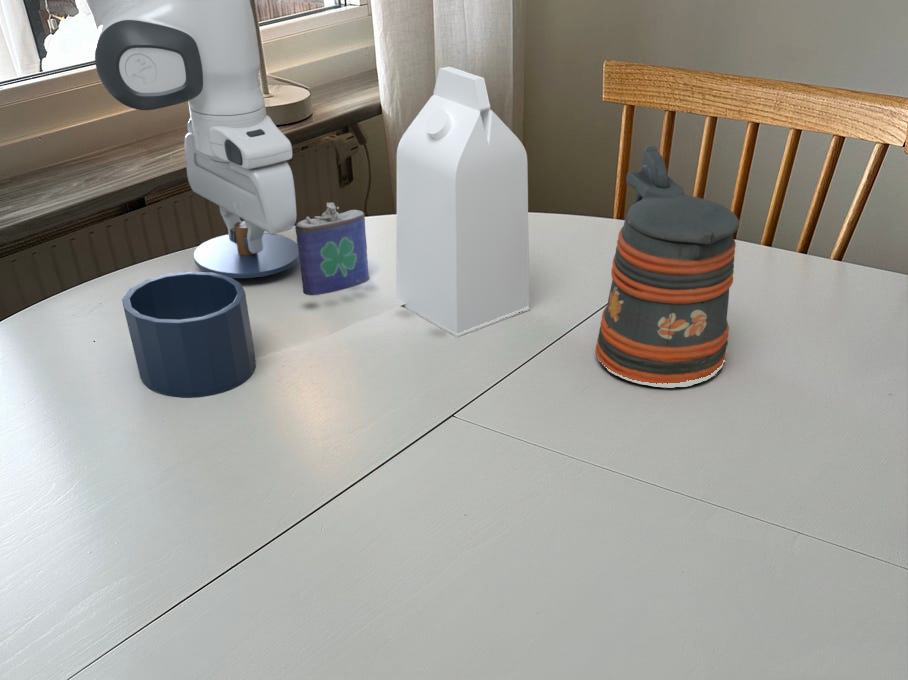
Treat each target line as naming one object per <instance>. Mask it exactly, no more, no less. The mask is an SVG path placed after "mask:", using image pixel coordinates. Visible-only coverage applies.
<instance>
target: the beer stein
mask: <svg viewBox="0 0 908 680" xmlns="http://www.w3.org/2000/svg"><path fill="white" fill-rule="evenodd" d="M640 167H641V168H640V171H628V172H627V173H626V179H625V183H626V184H627V185H628V186H630V187H631V188H632V189H633V190H634V191H636V194H635V197H634V201H633V204H632V205H631V206H630V207H629V209H628V211H627V213H626V215H625V219H624V222H623V225H622V227H621V228H620V230H619V232H618V235H617V241H616V247H615V253H614V255H613V257H612V266H611V269H610V271H611V285H610V290H609V295H608V299H607V303H606V304H607V305H606V306H605V307H604V309H603V311H602V313H601V314H602V315H601V321H600V326H599V330H598V331H599V332H598V337H597V340H596V345H595V355H596V354H597V355H596V357H597V356H598V358H599V360H600V361H601V363H603V365H605V367H607V368H608V369H610V370H611V371H613V372H615V373H617V374H619V375H622V376H623V377H627V378H629V379H632V380H637V381H641V382H649V383H656V384H657V383H662V384H663V383H667V384H668V383H680V382H686V381H687V380H688V381H689V380H695V379H699V378H701V377H702V378H703V377H706V376H708V375H711V373H713V372H714V371H715V370H717V368H719V367H720V366H721V365H722V363H723V360H724V359H725V356H726V352H727V348H728V343H729V342H728V341H729V340H728V338H729V332H730V331H729V330H730V327H729V322H728V320H727V319H728V310H729V309H728V308H729V298H730V288H731V287H732V285H733V283H734V269H735V254H736V241H735V238H734V234H735V233H736V232H737V231H738V229H739V228H740V220H739V218H738V216H737V215H736V214H735V213H734V212H733V211H732V210H730V209H729V208H728V207H726V206H724V205H722V204H720V203H718V202H716V201H712V200H709V199H704V198H701V197H697V196H693V195H688V194H685V191H684V188H683V186H681V185H680V184H678V183H676V182H675V181H674V180H673V178H671V177H670V176H669V175H668V170H667V167H666V163H665V161H664V158H663V156H662V154H661V153H660V152H659V151H658V149H657V147H656V146H655V145H650V146H646V147H645V148H644V150H643V155H642V161H641V166H640ZM598 358H597V359H598ZM599 360H598V361H599ZM601 363H600V364H601ZM665 389H667V388H665ZM667 390H668V389H667Z"/></svg>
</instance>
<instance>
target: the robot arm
mask: <svg viewBox="0 0 908 680" xmlns="http://www.w3.org/2000/svg"><path fill="white" fill-rule="evenodd" d="M84 2H85V3H86V5H87V7H88V9H89V11H90V13H91V17H92V19H93V23H94V27H95V32H96V40H95V51H94V63H95V68H96V72H97V75H98V77H99V79H100V81H101V83H102V85H103V86H104V88H105V89H106V91H107V92H108V93H109V95H111V97H113V98H114V99H115V100H116V101H117V102H119V103H121V104H123V105H124V106H126V107H128V108H130V109H134V110H139V111H152V110H158V109H164V108H168V107H171V106H176V105H180V104H182V103H186V102H187V103H188V109H189V115H190V118H189V121H188V122H187V124H186V127H187V134H186V135H185V137H184V157H185V167H186V175H187V181H188V184H189V186H190V189H191V190H192V192H193V193H194V194H196V195H199V196H201V197H203V198H204V199H206V200H207V201H209V202H211V203H213V204H215V205H217V206H218V207H219V213H220V216H221V217H222V220H223V222H224V225H225V226H226V228H227V233H228V234H229V239H230V241H232V242H234V243H236V236H235V229H234V224H235V223H237V222H242V220H243V221H245V226H246V227H248V232H247V236H245V237H244V243H245V249H246V250H248V251H250V252H251V253H253V254H254V253H258V252H261V251H262V249H263V245H262V236H263V233H270V234H279V233H283V232H286V231H289V230H292V229H293V228H295V225H296V222H297V213H298V212H297V201H296V200H297V199H296V189H295V179H294V175H293V171H292V168H291V166H290V165H289V163H288V162H287V161H290V160H291V159H292V158H293V146H292V143H291V141H290V139H289V138H288V137H287V136H286V135H285V134H284V133H283V132H282V131H281V130H280V129H279V128H278V127H277V125H276V124H275V122H274V121H273V120H272V118H271V116H269V115H268V114H267V110H266V102H265V97H264V94H263V91H262V89H261V86H260V69H261V58H260V57H261V56H260V49H259V48H260V47H259V41H258V33H257V27H256V22H255V17H254V13H253V9H252V6H251V2H250V0H84ZM241 219H242V220H241ZM236 244H237V243H236Z"/></svg>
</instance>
